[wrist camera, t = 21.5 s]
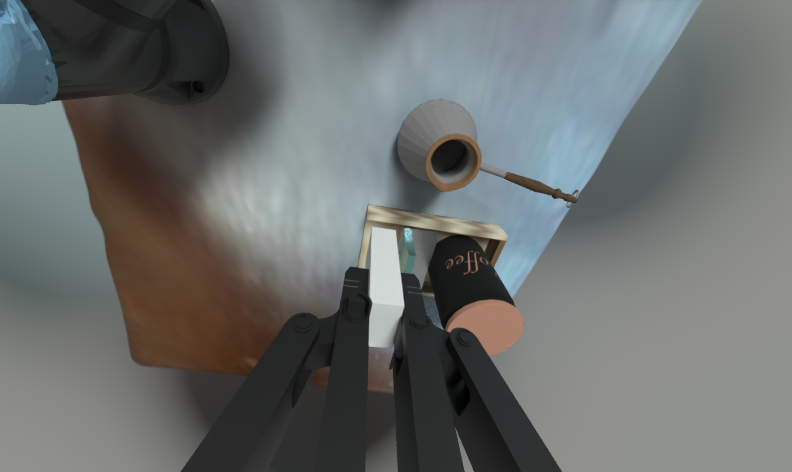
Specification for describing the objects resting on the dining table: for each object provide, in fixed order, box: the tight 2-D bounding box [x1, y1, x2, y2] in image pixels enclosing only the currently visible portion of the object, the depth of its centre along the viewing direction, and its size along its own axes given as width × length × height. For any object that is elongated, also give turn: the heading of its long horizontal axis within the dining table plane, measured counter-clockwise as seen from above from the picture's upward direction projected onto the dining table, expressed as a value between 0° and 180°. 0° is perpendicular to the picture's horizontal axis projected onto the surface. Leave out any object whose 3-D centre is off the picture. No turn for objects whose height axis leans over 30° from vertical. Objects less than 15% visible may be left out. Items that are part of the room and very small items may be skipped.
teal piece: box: [397, 225, 440, 289], centre depth 47 cm, size 6×13×9 cm, turn 168°
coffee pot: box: [397, 99, 579, 208], centre depth 37 cm, size 21×12×15 cm, turn 74°
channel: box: [358, 204, 508, 297], centre depth 51 cm, size 24×15×4 cm, turn 79°
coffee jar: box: [428, 235, 524, 356], centre depth 45 cm, size 11×11×18 cm
